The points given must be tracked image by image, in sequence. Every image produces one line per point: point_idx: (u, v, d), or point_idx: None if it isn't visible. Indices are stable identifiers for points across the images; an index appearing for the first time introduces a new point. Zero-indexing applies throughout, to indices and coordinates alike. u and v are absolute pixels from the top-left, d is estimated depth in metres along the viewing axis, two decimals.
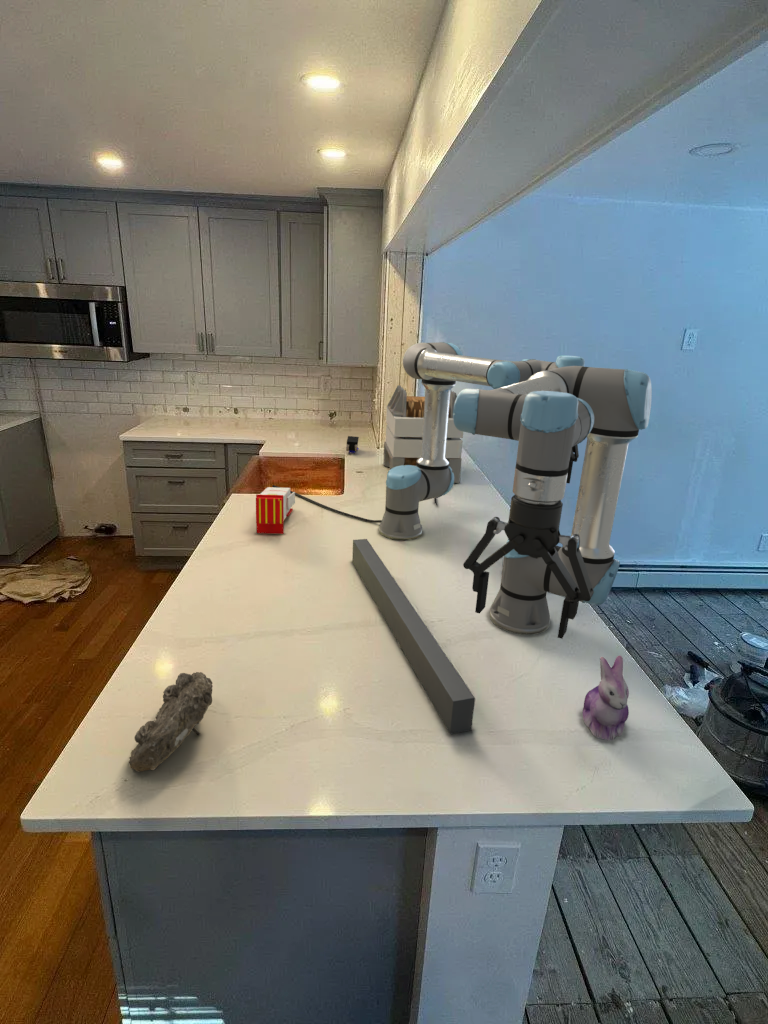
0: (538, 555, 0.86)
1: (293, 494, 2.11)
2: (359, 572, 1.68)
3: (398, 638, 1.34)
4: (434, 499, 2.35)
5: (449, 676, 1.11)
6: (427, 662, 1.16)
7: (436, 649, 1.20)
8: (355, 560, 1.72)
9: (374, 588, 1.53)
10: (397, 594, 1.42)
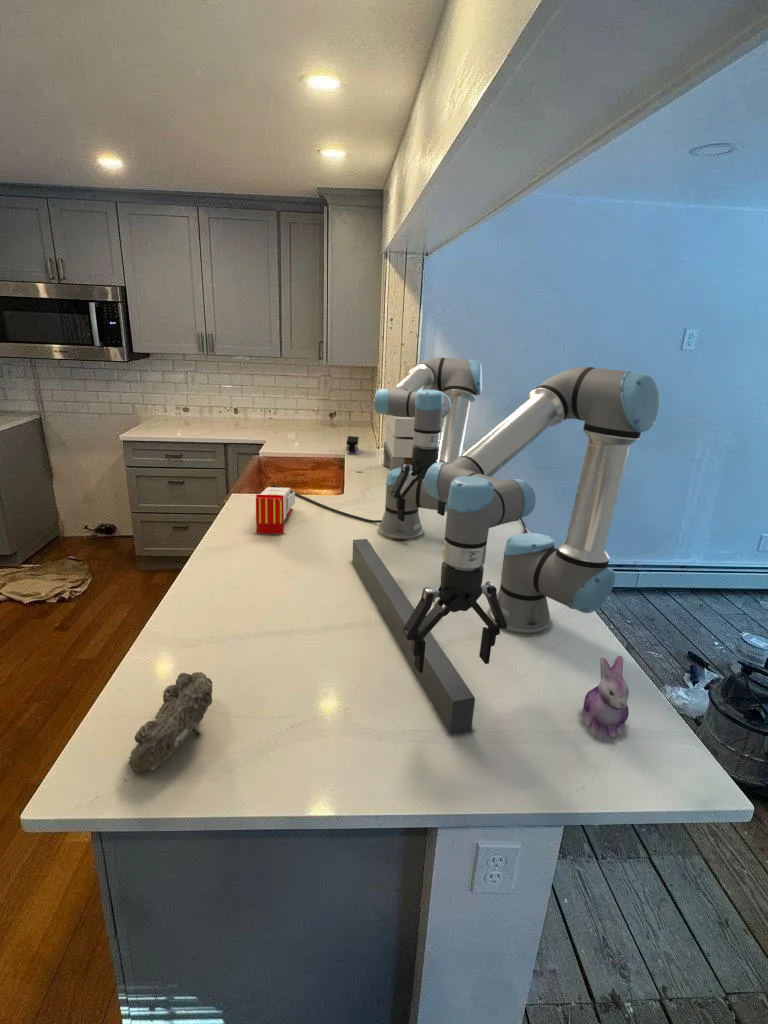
0: (468, 607, 1.04)
1: (293, 494, 2.11)
2: (359, 572, 1.68)
3: (398, 638, 1.34)
4: None
5: (449, 676, 1.11)
6: (427, 662, 1.16)
7: (436, 649, 1.20)
8: (355, 560, 1.72)
9: (374, 588, 1.53)
10: (397, 594, 1.42)
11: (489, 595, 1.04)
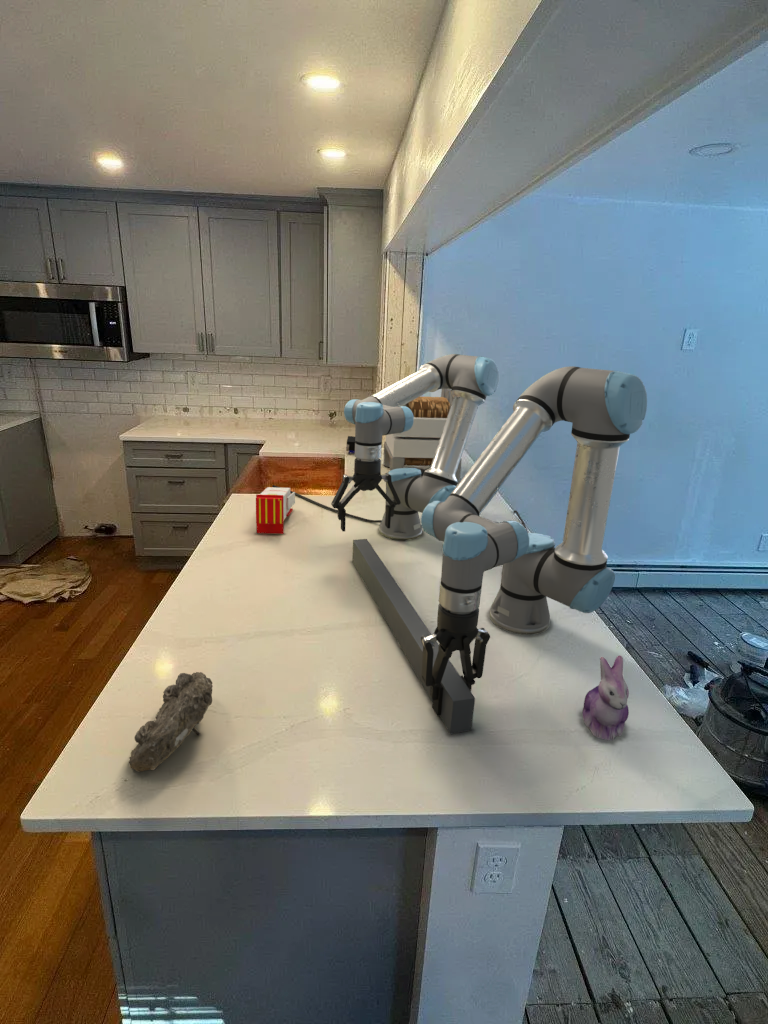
0: None
1: (293, 494, 2.11)
2: (359, 572, 1.68)
3: (398, 638, 1.34)
4: None
5: (449, 676, 1.11)
6: None
7: (436, 649, 1.20)
8: (355, 560, 1.72)
9: (374, 588, 1.53)
10: (397, 594, 1.42)
11: (481, 640, 1.07)
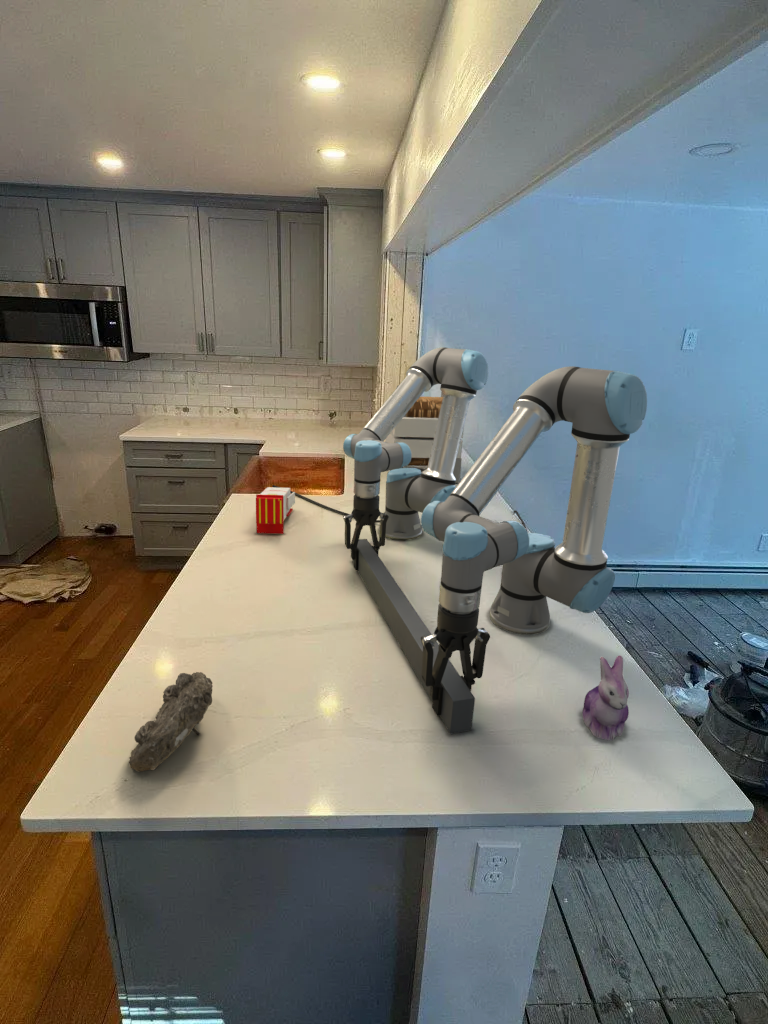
0: None
1: (293, 494, 2.11)
2: (359, 572, 1.68)
3: (398, 638, 1.34)
4: None
5: (449, 676, 1.11)
6: None
7: (436, 649, 1.20)
8: None
9: (374, 588, 1.53)
10: (397, 594, 1.42)
11: (481, 640, 1.07)
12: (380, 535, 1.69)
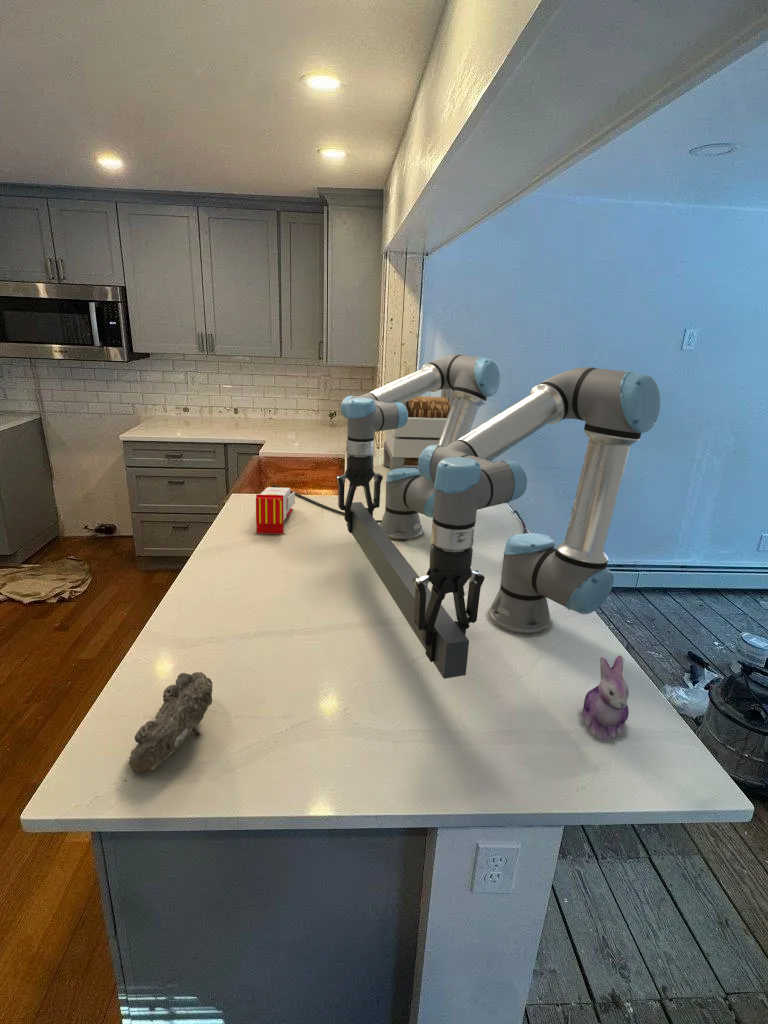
0: None
1: (293, 494, 2.11)
2: (353, 534, 1.65)
3: (392, 592, 1.31)
4: None
5: (443, 621, 1.08)
6: None
7: (429, 598, 1.16)
8: None
9: (368, 547, 1.50)
10: (391, 550, 1.38)
11: (475, 582, 1.04)
12: (374, 496, 1.66)
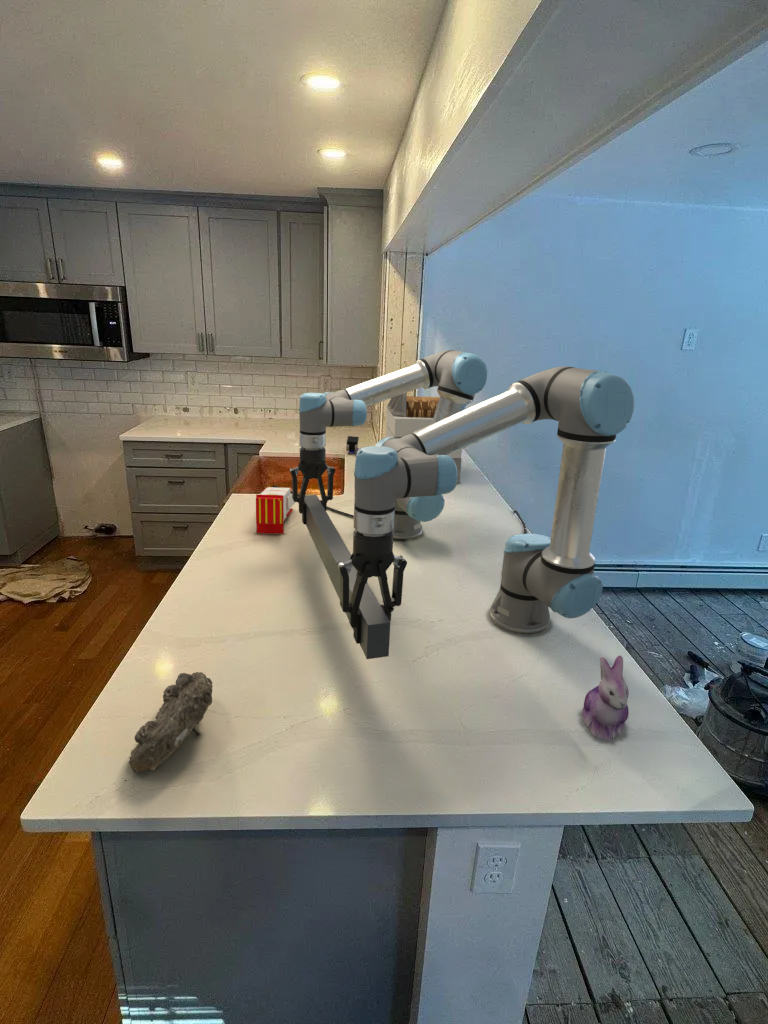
0: None
1: None
2: (307, 526, 1.69)
3: (332, 580, 1.36)
4: None
5: (369, 605, 1.12)
6: (351, 594, 1.17)
7: None
8: None
9: (316, 537, 1.54)
10: (335, 539, 1.43)
11: (398, 566, 1.09)
12: (328, 489, 1.71)
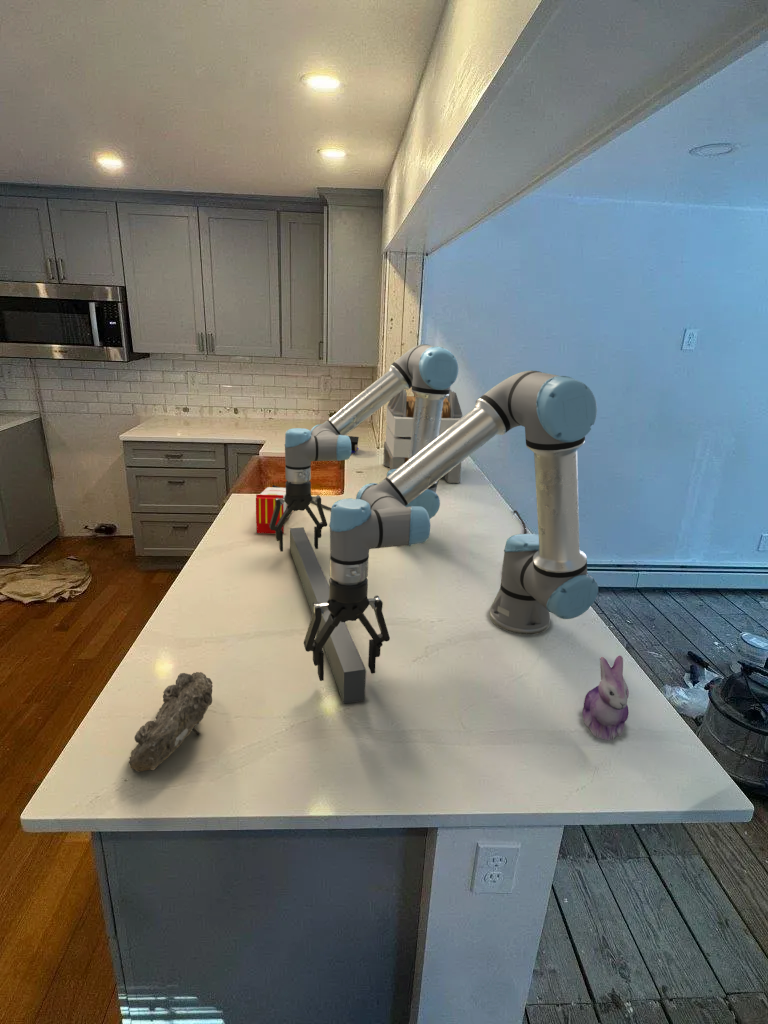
0: (357, 618, 1.13)
1: None
2: (293, 559, 1.75)
3: None
4: None
5: (347, 650, 1.18)
6: (330, 638, 1.23)
7: (341, 626, 1.26)
8: (291, 547, 1.79)
9: (302, 573, 1.59)
10: (318, 578, 1.48)
11: (375, 608, 1.14)
12: None
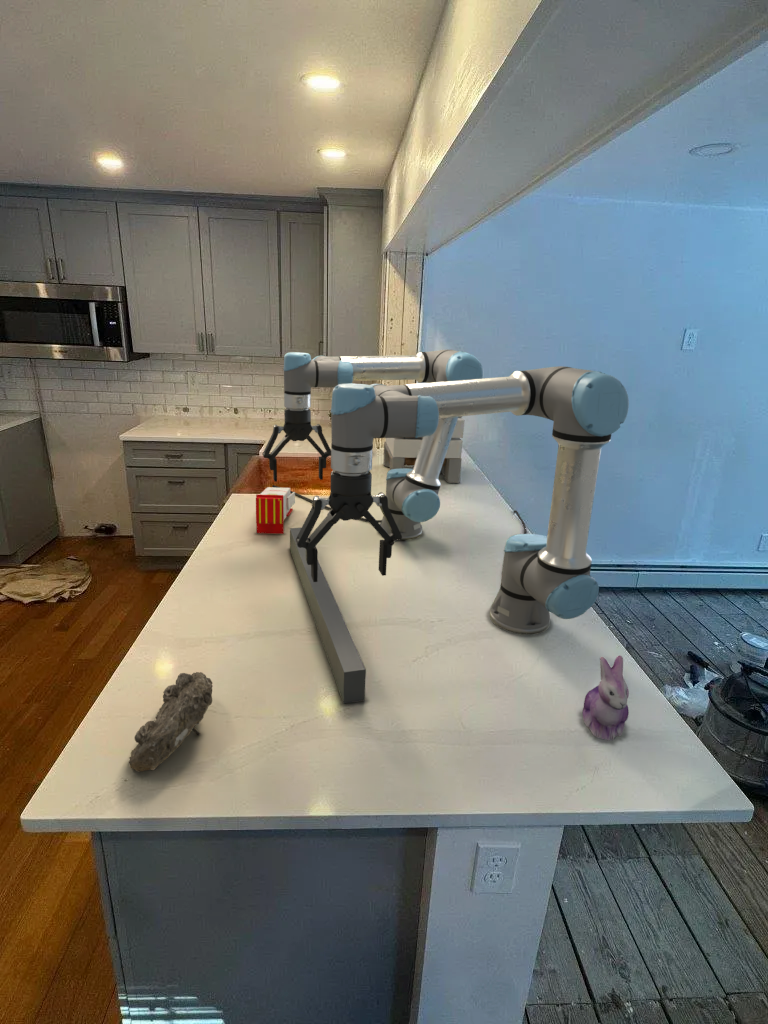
0: (360, 516, 1.06)
1: (293, 494, 2.11)
2: (293, 559, 1.75)
3: (315, 618, 1.41)
4: None
5: (347, 650, 1.18)
6: (330, 638, 1.23)
7: (341, 626, 1.26)
8: (291, 547, 1.79)
9: (302, 573, 1.59)
10: (318, 578, 1.48)
11: (380, 504, 1.06)
12: (324, 447, 1.69)
